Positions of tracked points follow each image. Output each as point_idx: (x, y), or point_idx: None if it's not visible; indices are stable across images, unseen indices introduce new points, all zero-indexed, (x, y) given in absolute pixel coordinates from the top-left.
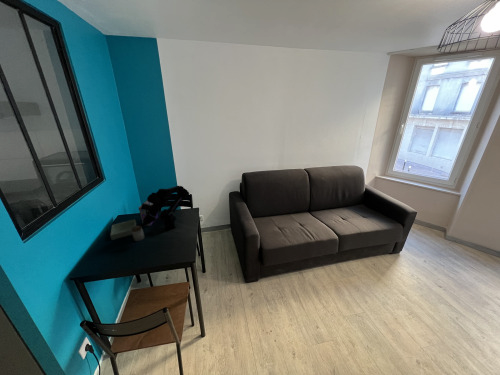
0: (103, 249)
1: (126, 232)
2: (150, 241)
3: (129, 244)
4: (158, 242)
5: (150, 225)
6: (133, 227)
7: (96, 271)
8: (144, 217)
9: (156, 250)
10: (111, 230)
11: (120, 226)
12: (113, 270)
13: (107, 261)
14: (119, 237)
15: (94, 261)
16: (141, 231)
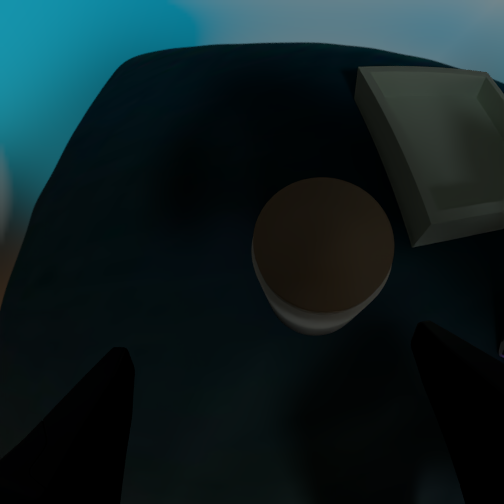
0: (258, 84)
1: (397, 157)
2: (205, 400)
3: (242, 218)
4: (159, 462)
5: (501, 356)
6: (353, 197)
7: (80, 128)
8: (486, 367)
9: None
10: (425, 68)
11: (496, 121)
12: (39, 197)
13: (120, 141)
14: (370, 129)
15: (161, 87)
16: (290, 316)
